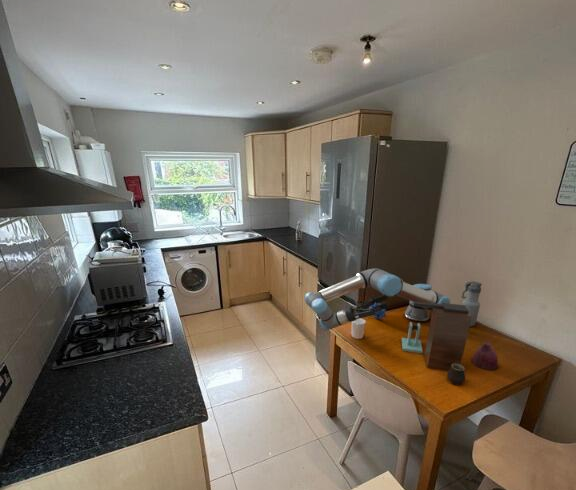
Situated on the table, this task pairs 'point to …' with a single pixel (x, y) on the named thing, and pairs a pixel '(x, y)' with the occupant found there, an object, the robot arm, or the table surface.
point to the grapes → (379, 312)
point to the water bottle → (472, 300)
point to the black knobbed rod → (414, 327)
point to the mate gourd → (456, 374)
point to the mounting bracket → (412, 341)
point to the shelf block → (446, 339)
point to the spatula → (444, 307)
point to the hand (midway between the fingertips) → (386, 300)
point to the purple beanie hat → (485, 357)
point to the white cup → (358, 328)
